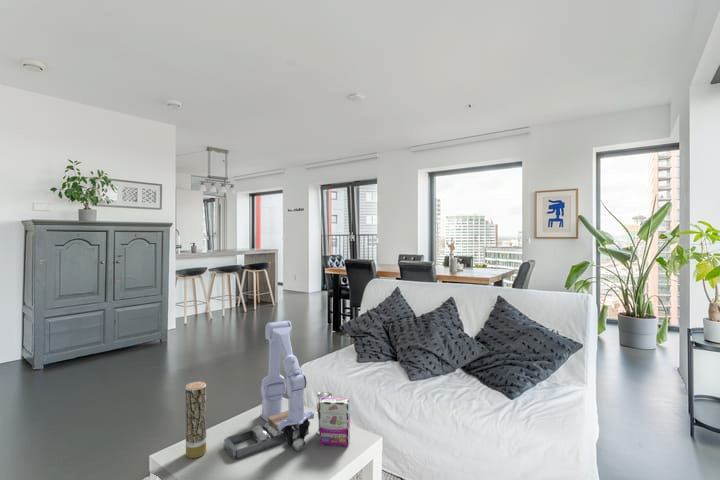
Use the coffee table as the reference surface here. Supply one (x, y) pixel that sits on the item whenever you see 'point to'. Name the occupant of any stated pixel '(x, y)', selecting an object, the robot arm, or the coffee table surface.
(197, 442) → the paper tube
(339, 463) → the coffee table surface
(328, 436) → the candy bar box
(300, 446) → the roller
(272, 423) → the slab
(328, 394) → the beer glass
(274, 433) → the roller bed
